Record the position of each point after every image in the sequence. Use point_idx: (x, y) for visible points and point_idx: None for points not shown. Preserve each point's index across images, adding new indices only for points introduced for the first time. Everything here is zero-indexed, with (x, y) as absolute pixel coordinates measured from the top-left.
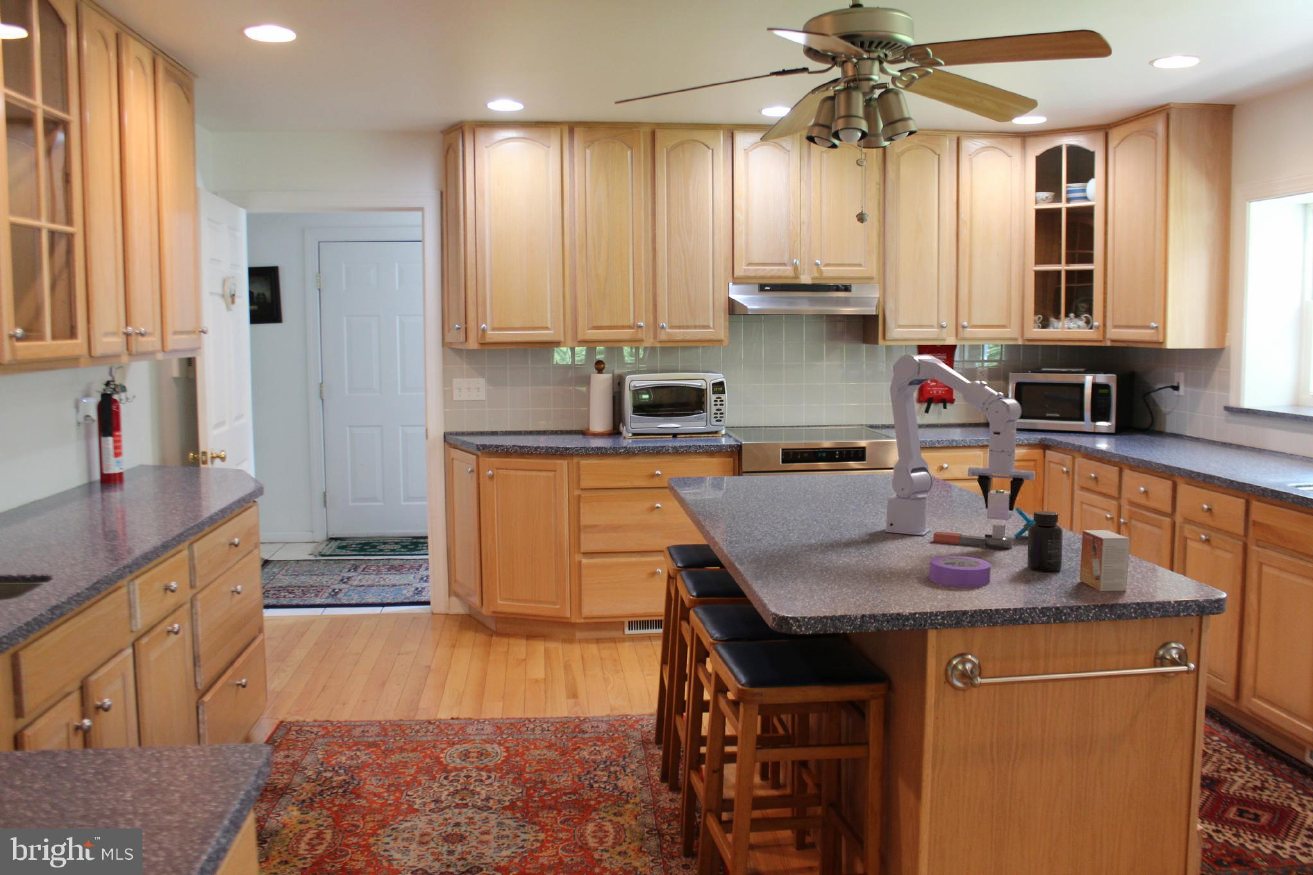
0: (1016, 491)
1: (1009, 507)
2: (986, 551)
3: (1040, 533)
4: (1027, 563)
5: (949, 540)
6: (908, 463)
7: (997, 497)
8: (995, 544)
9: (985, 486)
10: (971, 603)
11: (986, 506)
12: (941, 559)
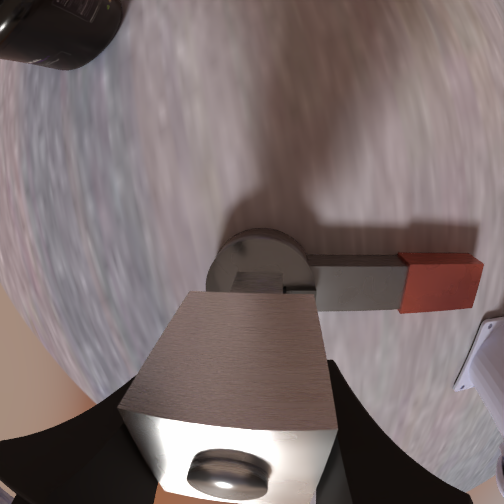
0: (63, 427)
1: None
2: (290, 173)
3: None
4: (118, 3)
5: (432, 257)
6: None
7: (236, 397)
8: (263, 234)
9: (378, 490)
10: None
11: (332, 367)
12: None
